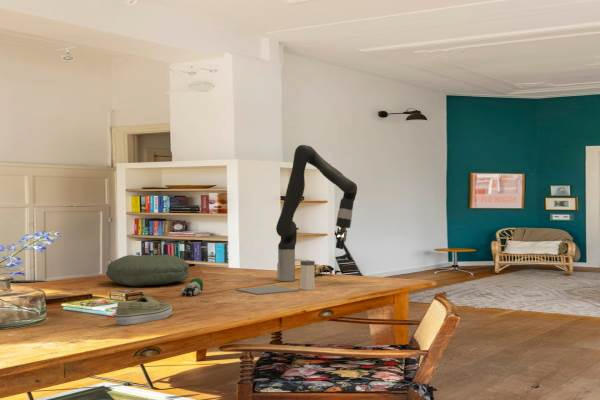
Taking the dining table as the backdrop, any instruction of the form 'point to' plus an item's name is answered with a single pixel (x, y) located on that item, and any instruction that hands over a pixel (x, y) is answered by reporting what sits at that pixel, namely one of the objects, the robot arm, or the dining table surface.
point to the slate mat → (267, 290)
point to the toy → (193, 287)
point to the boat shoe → (141, 311)
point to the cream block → (307, 275)
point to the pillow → (147, 270)
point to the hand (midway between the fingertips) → (339, 248)
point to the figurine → (323, 269)
